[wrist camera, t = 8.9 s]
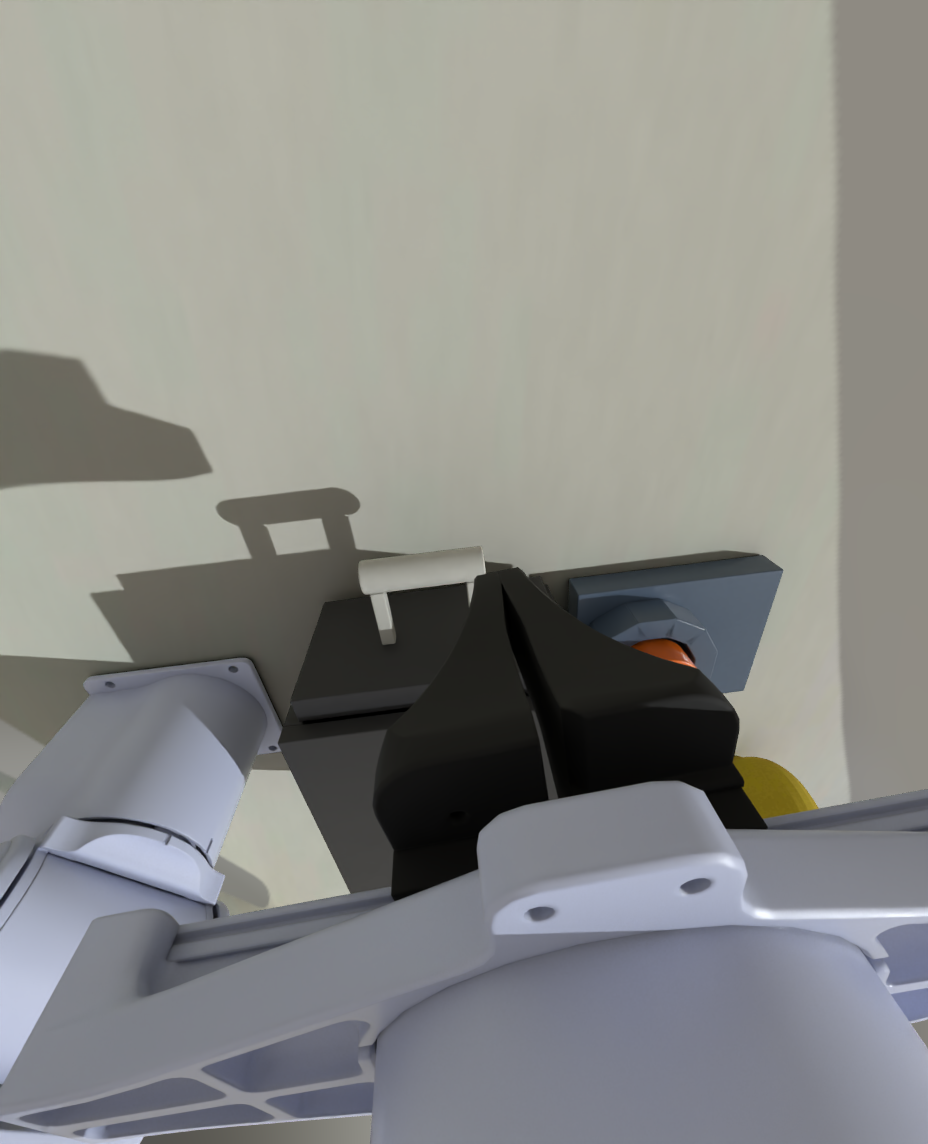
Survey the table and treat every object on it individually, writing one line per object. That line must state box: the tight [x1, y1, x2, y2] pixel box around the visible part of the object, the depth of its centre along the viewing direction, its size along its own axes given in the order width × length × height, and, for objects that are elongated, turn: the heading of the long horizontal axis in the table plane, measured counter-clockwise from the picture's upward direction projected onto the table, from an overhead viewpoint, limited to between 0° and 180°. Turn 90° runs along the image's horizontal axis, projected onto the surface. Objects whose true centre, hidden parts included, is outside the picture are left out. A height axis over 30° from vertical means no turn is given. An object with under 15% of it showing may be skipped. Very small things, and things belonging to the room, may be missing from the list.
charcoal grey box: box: [278, 585, 558, 894], centre depth 24 cm, size 15×13×9 cm
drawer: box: [290, 546, 549, 721], centre depth 22 cm, size 18×11×7 cm, turn 5°
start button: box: [631, 638, 697, 668], centre depth 23 cm, size 4×4×2 cm
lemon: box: [733, 756, 818, 819], centre depth 31 cm, size 6×6×8 cm
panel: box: [568, 555, 783, 693], centre depth 25 cm, size 11×9×4 cm
